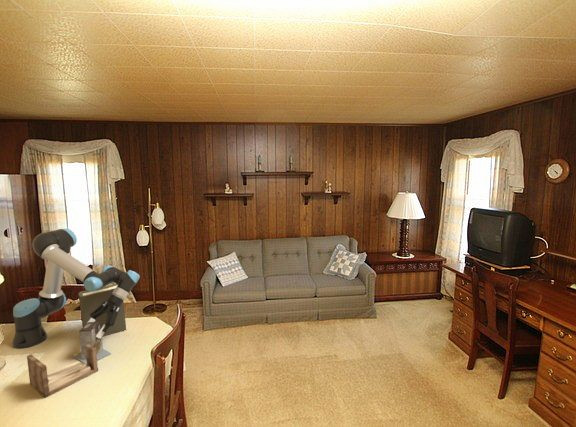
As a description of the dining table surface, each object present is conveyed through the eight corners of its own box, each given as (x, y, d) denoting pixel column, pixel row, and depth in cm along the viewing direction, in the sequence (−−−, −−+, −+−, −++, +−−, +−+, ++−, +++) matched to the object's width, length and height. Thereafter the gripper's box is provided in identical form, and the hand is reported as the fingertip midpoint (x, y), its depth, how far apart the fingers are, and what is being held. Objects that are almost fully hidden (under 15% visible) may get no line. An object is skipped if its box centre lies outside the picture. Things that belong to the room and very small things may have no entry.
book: (84, 342, 179) (79, 296, 175) (83, 335, 187) (78, 291, 183) (126, 330, 192) (121, 287, 188) (123, 324, 200) (119, 282, 195)
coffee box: (90, 349, 170) (88, 321, 168) (103, 349, 171) (100, 321, 168) (81, 359, 161) (78, 330, 159) (94, 359, 162) (91, 329, 159)
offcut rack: (30, 384, 143) (26, 356, 141) (82, 360, 161) (80, 334, 160) (45, 398, 135) (41, 367, 133) (98, 370, 153) (96, 344, 151)
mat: (73, 357, 164) (73, 355, 164) (97, 346, 174) (97, 345, 174) (87, 365, 157) (86, 364, 157) (111, 354, 167) (111, 353, 167)
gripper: (135, 305, 170) (109, 343, 160) (111, 295, 184) (85, 329, 173) (125, 299, 165) (97, 338, 155) (101, 289, 179) (74, 324, 168)
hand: (91, 333), depth 164 cm, fingers open, 13 cm apart
